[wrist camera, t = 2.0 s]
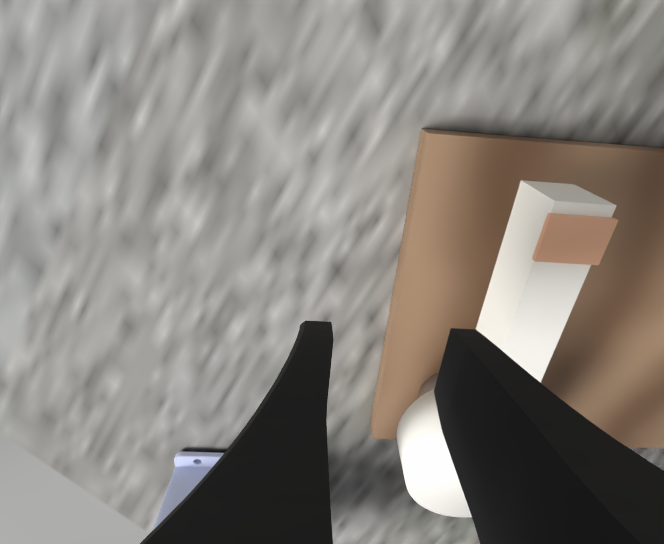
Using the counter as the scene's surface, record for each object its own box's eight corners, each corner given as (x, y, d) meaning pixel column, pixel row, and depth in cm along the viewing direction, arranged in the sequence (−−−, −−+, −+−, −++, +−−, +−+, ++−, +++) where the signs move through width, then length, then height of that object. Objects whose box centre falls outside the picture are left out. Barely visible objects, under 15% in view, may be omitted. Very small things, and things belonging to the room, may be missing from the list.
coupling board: (370, 422, 26) (376, 472, 23) (421, 128, 17) (443, 143, 14) (672, 433, 27) (718, 482, 24) (859, 163, 18) (967, 184, 15)
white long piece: (510, 475, 22) (532, 522, 20) (387, 471, 22) (395, 520, 20) (638, 189, 15) (697, 212, 12) (453, 175, 14) (478, 197, 12)
